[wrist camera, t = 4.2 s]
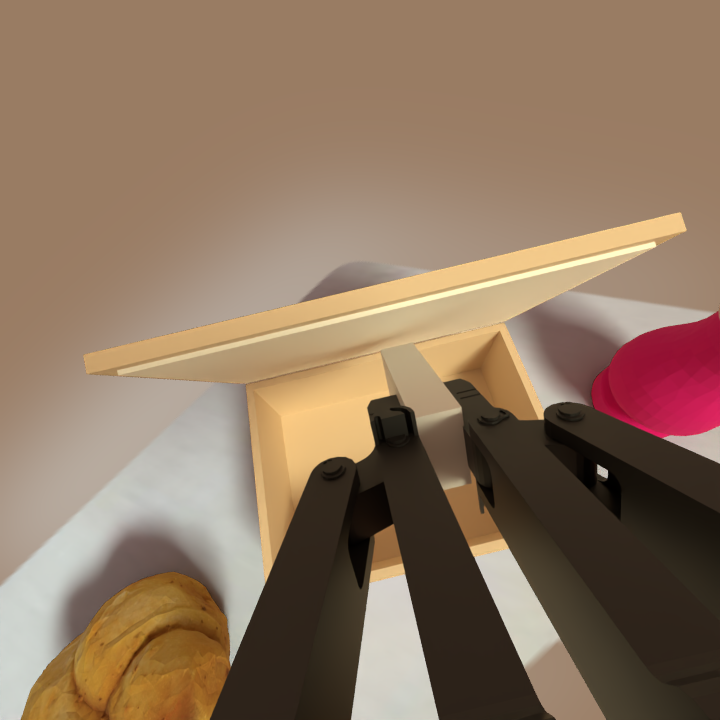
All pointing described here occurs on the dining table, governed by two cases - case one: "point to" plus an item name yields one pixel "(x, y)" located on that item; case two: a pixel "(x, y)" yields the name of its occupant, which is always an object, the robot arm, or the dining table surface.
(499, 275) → the lid
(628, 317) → the dining table surface
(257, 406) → the mailer box
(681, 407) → the pepper mill
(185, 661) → the bread roll
